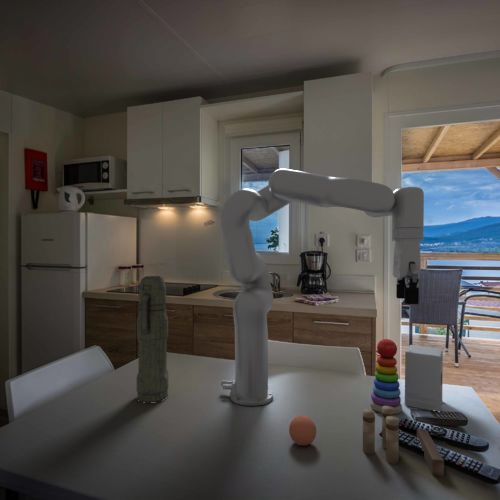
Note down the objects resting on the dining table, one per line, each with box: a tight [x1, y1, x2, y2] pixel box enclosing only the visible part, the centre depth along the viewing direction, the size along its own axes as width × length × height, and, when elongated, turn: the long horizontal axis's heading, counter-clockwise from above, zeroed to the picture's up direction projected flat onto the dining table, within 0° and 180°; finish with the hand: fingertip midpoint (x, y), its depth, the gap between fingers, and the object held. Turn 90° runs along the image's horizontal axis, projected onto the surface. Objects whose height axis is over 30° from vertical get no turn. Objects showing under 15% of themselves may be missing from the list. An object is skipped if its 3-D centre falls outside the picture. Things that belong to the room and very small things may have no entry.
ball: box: [288, 414, 317, 447], centre depth 80 cm, size 6×6×6 cm
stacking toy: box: [369, 338, 403, 415], centre depth 97 cm, size 8×8×19 cm
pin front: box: [362, 408, 376, 455], centre depth 77 cm, size 2×2×8 cm
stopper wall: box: [416, 428, 445, 477], centre depth 75 cm, size 2×12×3 cm, turn 168°
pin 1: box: [381, 406, 395, 450], centre depth 79 cm, size 2×2×8 cm
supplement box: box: [404, 344, 444, 412], centre depth 101 cm, size 9×9×15 cm
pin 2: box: [385, 416, 400, 465], centre depth 74 cm, size 2×2×8 cm
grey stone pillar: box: [136, 275, 169, 403], centre depth 105 cm, size 9×12×35 cm
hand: (406, 301), depth 94 cm, fingers open, 9 cm apart
